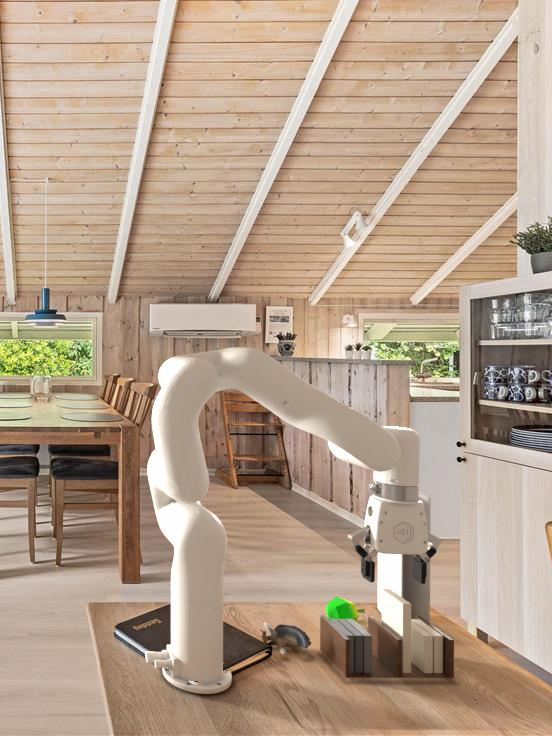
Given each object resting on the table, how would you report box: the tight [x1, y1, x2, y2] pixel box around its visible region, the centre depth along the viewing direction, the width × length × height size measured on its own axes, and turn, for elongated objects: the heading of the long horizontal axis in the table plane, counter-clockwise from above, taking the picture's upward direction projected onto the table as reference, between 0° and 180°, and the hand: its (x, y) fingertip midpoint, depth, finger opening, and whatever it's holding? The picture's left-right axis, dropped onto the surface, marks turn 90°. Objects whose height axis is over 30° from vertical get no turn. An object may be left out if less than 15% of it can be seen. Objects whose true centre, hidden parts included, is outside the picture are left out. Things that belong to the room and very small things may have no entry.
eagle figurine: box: [259, 622, 312, 656], centre depth 125 cm, size 8×7×9 cm
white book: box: [381, 589, 411, 673], centre depth 120 cm, size 2×7×13 cm, turn 0°
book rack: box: [319, 614, 455, 679], centre depth 120 cm, size 20×10×8 cm, turn 90°
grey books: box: [327, 618, 372, 673], centre depth 120 cm, size 5×7×7 cm
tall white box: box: [377, 490, 431, 623], centre depth 139 cm, size 14×6×30 cm, turn 168°
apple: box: [325, 595, 368, 624], centre depth 138 cm, size 7×6×9 cm
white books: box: [411, 619, 443, 673], centre depth 120 cm, size 4×7×7 cm, turn 0°
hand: (393, 580), depth 120 cm, fingers open, 9 cm apart
